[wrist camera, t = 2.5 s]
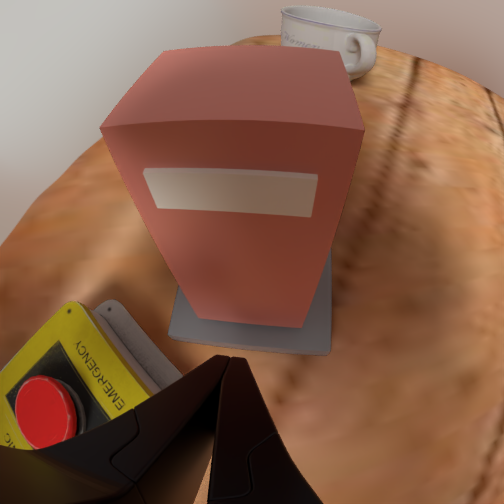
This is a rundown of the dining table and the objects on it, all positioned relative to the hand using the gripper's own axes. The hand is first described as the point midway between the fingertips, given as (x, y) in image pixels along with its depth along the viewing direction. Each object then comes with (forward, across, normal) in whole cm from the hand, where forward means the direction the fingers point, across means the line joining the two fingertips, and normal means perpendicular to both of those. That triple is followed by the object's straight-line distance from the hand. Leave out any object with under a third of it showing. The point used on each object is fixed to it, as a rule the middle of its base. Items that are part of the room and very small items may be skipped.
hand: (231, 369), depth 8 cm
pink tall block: (+7, 0, 0) cm, 7 cm away
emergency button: (+2, +9, +8) cm, 13 cm away
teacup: (+27, -6, -17) cm, 33 cm away
